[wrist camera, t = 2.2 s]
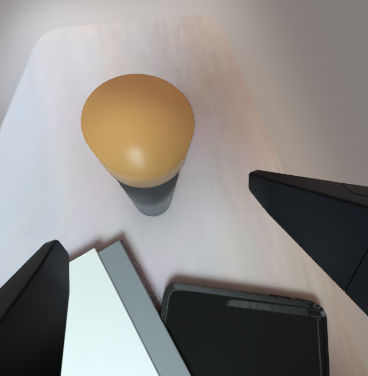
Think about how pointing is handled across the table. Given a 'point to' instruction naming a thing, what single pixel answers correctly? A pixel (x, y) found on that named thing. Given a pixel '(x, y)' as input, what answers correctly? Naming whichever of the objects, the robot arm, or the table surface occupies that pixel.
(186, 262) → the table surface
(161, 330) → the writing board
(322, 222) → the robot arm
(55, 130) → the table surface
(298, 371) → the phone
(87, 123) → the grey cylinder
